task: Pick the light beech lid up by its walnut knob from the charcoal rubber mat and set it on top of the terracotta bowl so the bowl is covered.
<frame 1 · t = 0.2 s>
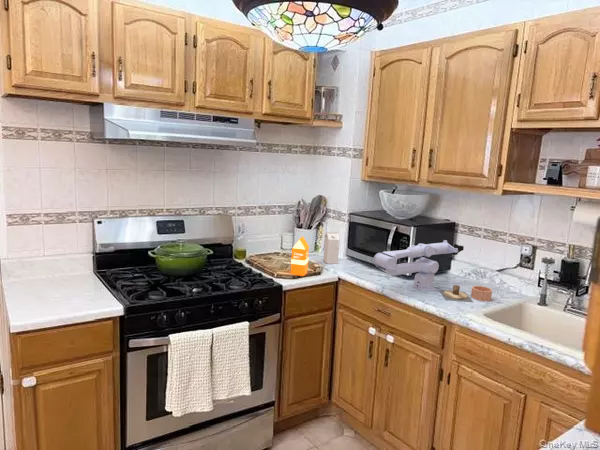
hand: (457, 246, 235), 21 cm above the worktop, tool horizontal, fingers open, 7 cm apart
orange juice: (299, 273, 246), on the worktop
mat: (455, 296, 219), on the worktop
bowl: (480, 298, 218), on the worktop
milk carton: (330, 262, 272), on the worktop
lid: (455, 295, 219), resting on mat
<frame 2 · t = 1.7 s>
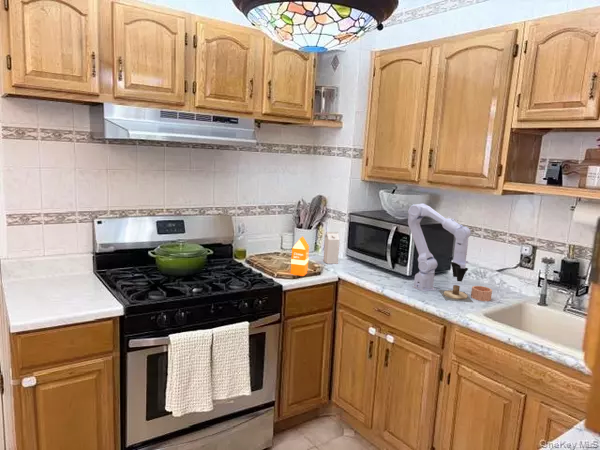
hand: (457, 279, 218), 9 cm above the worktop, tool pointing down, fingers open, 7 cm apart
nothing on the worktop moved.
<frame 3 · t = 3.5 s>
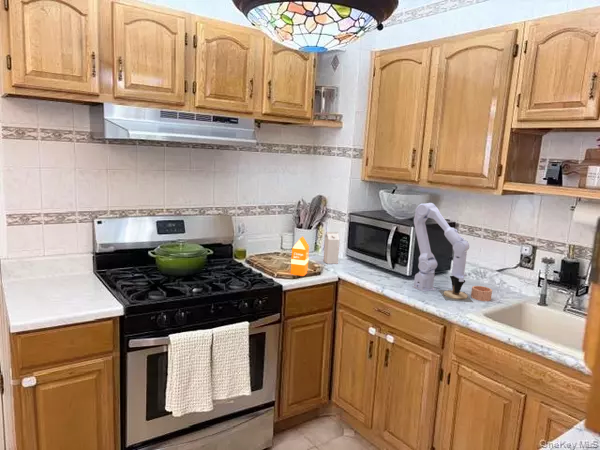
hand: (455, 291, 219), 2 cm above the worktop, tool pointing down, fingers closed on lid, 3 cm apart
lid: (455, 295, 219), resting on mat, touching gripper
everything else where it was.
when the fingers open (8 cm above the worktop, at t = 6.5 s): lid stays where it is, resting on bowl.
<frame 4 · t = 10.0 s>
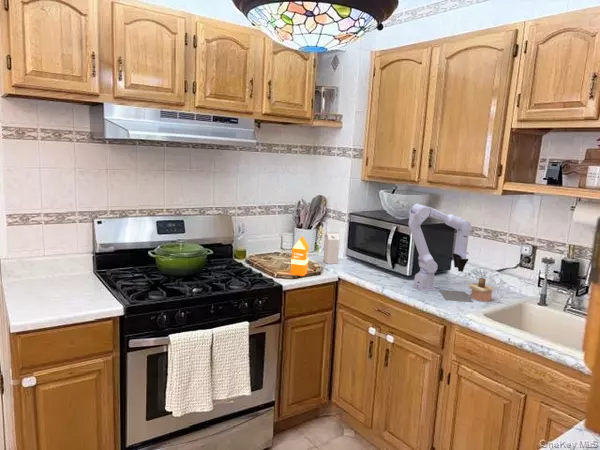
hand: (458, 269, 231), 10 cm above the worktop, tool pointing down, fingers open, 7 cm apart
lid: (481, 288, 217), point 5 cm above the worktop, touching bowl
everything else where it was.
at the end: lid 0.4 cm off-centre on the bowl, point 5.0 cm above the bowl's base; lid tilted 0°; the gripper is holding nothing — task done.
